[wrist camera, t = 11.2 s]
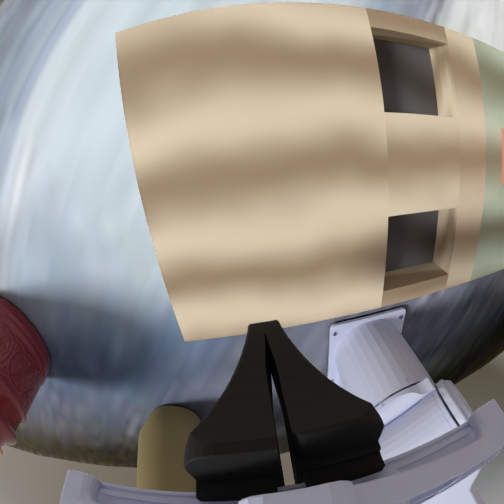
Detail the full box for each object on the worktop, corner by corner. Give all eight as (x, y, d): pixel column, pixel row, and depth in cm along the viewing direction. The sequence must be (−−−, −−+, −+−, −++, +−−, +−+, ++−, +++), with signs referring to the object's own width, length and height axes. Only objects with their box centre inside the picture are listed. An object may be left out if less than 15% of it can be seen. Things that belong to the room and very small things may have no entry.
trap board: (508, 250, 24) (532, 266, 20) (188, 318, 23) (182, 354, 19) (512, 67, 15) (540, 68, 11) (130, 44, 14) (106, 26, 10)
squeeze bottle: (153, 430, 31) (139, 547, 15) (135, 396, 28) (109, 537, 11) (212, 432, 31) (214, 556, 15) (204, 399, 28) (202, 552, 12)
